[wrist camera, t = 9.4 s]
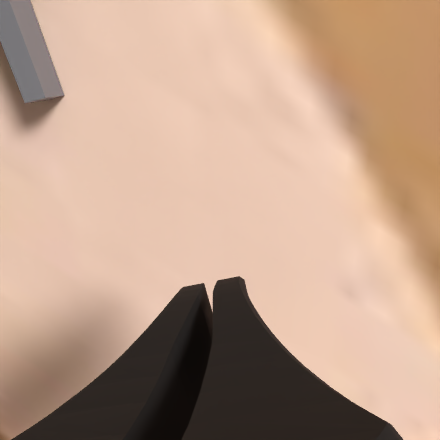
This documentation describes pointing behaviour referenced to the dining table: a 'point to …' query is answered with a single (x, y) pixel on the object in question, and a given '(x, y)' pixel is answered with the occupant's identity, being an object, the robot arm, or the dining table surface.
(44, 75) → the grey piece
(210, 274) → the dining table surface
